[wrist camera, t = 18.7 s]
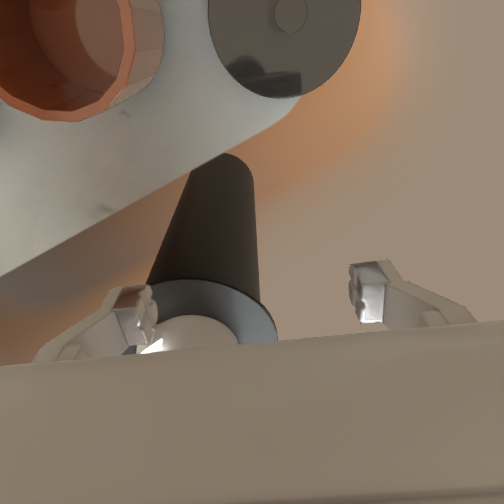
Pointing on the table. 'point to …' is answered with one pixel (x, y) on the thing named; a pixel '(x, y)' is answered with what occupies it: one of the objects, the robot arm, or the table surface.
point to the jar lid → (283, 42)
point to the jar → (77, 54)
